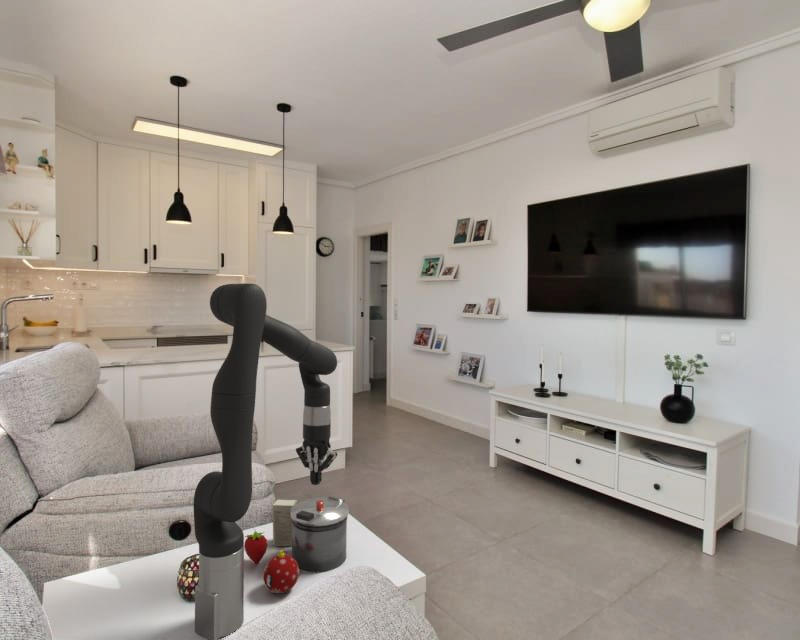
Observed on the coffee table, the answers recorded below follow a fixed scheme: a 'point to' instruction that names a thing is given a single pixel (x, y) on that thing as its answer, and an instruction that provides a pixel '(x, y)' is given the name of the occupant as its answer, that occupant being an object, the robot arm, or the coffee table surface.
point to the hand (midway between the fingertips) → (315, 483)
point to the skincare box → (282, 522)
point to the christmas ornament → (281, 573)
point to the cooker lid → (319, 511)
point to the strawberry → (256, 546)
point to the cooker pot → (319, 546)
